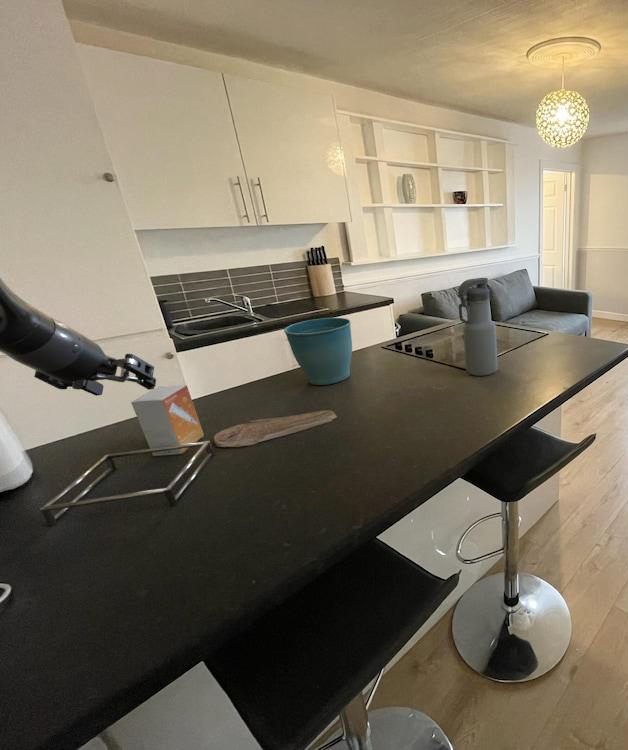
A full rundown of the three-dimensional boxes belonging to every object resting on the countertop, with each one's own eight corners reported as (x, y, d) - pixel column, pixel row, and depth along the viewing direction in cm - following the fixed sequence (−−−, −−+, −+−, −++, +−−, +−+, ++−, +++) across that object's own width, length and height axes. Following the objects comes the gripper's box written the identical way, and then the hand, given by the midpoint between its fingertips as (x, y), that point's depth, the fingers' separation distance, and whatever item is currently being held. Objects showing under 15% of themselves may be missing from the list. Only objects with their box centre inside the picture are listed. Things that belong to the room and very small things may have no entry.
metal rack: (47, 526, 68) (37, 509, 67) (112, 469, 83) (105, 454, 82) (175, 506, 72) (168, 489, 70) (215, 454, 87) (210, 439, 86)
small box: (182, 454, 88) (161, 400, 83) (152, 456, 87) (129, 402, 82) (205, 435, 95) (187, 384, 90) (177, 437, 95) (157, 386, 90)
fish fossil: (329, 405, 107) (329, 401, 107) (339, 423, 100) (338, 419, 99) (213, 434, 94) (212, 429, 94) (214, 456, 87) (212, 452, 86)
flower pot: (286, 381, 125) (273, 327, 118) (341, 364, 137) (331, 314, 131) (315, 395, 114) (301, 337, 107) (371, 375, 126) (362, 322, 120)
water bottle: (473, 379, 120) (467, 283, 109) (459, 369, 128) (452, 279, 117) (503, 372, 125) (500, 279, 114) (488, 363, 132) (483, 275, 122)
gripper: (111, 322, 65) (171, 365, 80) (3, 331, 62) (86, 374, 77) (103, 365, 62) (167, 401, 77) (-11, 376, 59) (78, 411, 74)
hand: (126, 387), depth 77 cm, fingers open, 8 cm apart
